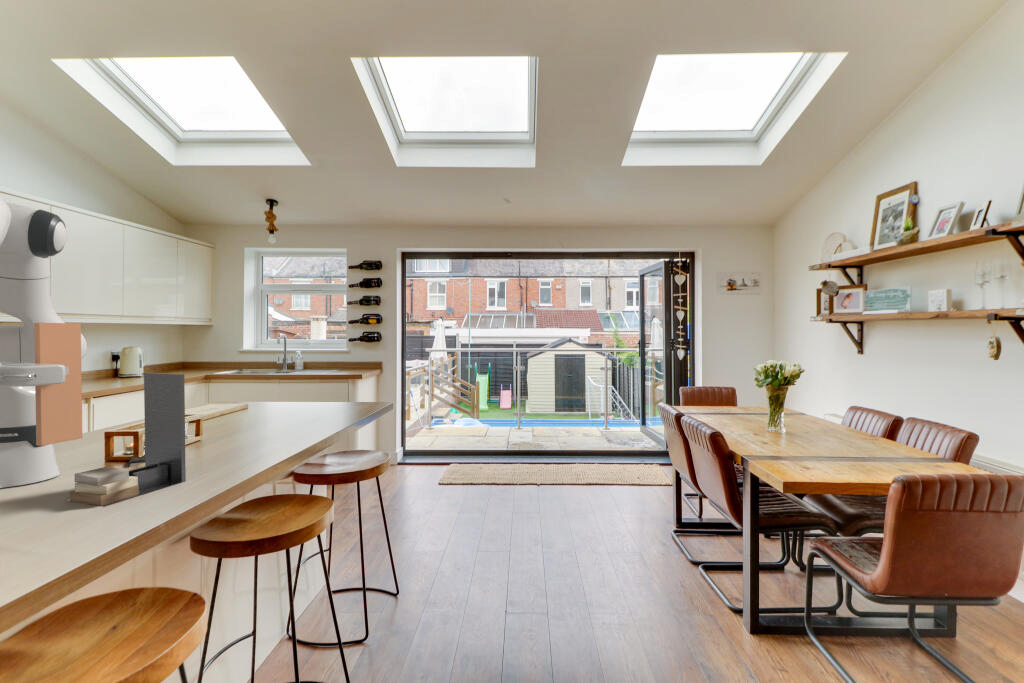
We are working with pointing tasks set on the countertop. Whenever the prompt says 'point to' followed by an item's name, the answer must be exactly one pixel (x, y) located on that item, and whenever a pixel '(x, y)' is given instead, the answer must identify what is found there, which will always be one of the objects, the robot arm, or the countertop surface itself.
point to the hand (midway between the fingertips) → (61, 370)
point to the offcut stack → (104, 486)
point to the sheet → (63, 400)
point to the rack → (162, 434)
